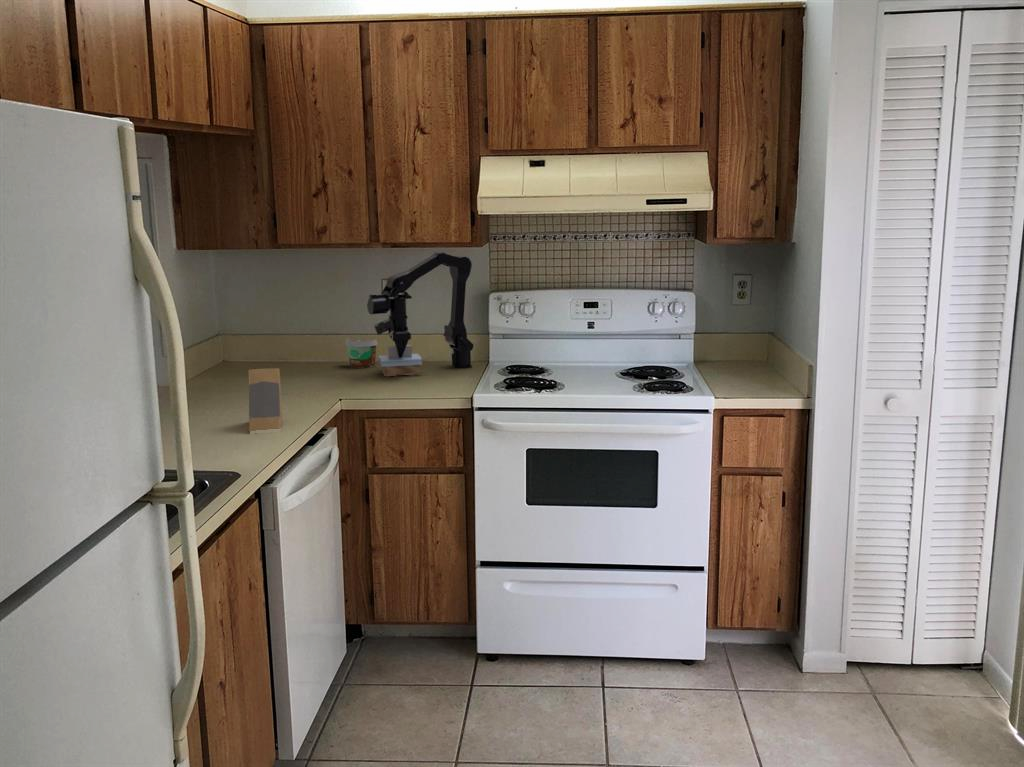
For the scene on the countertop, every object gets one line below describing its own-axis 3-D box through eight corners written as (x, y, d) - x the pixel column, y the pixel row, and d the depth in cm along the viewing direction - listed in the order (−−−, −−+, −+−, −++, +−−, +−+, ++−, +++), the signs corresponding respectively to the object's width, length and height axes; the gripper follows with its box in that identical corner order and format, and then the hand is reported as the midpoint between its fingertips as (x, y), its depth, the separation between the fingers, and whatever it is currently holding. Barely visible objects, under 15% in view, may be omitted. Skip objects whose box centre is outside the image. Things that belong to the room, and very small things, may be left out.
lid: (418, 359, 331) (417, 342, 330) (422, 364, 320) (421, 347, 319) (378, 361, 328) (377, 344, 326) (381, 366, 317) (380, 349, 316)
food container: (340, 367, 337) (339, 340, 335) (348, 364, 343) (346, 338, 341) (371, 369, 334) (370, 341, 331) (378, 366, 339) (377, 339, 337)
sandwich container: (247, 435, 246) (243, 380, 243) (251, 421, 261) (247, 369, 258) (281, 433, 248) (277, 378, 245) (283, 419, 263) (279, 367, 260)
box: (416, 370, 330) (415, 356, 329) (419, 374, 322) (418, 360, 321) (382, 372, 328) (381, 358, 327) (384, 377, 319) (384, 362, 318)
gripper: (372, 310, 327) (374, 353, 331) (377, 316, 310) (379, 362, 313) (403, 308, 330) (405, 351, 333) (410, 315, 312) (412, 360, 315)
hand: (400, 356), depth 324 cm, fingers closed on lid, 2 cm apart
